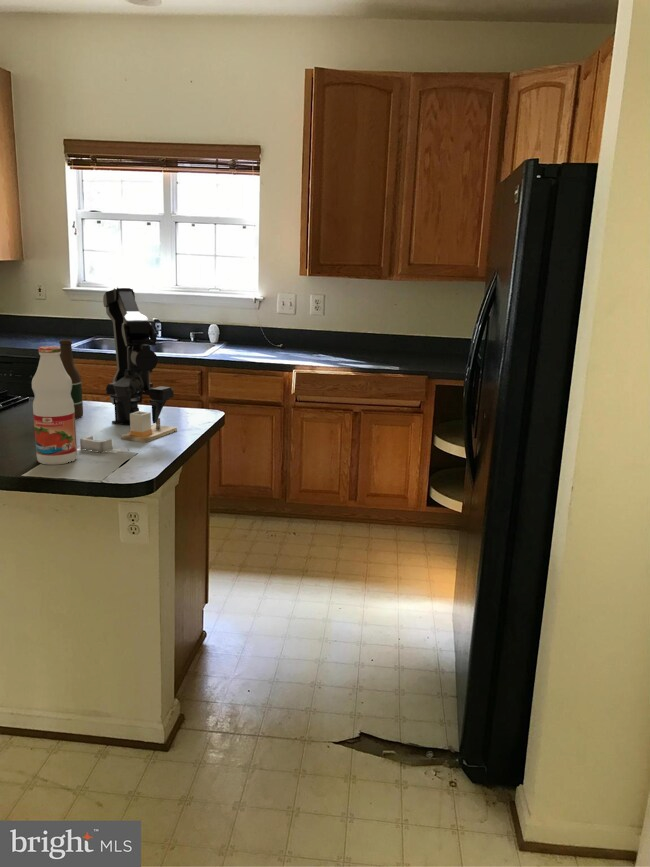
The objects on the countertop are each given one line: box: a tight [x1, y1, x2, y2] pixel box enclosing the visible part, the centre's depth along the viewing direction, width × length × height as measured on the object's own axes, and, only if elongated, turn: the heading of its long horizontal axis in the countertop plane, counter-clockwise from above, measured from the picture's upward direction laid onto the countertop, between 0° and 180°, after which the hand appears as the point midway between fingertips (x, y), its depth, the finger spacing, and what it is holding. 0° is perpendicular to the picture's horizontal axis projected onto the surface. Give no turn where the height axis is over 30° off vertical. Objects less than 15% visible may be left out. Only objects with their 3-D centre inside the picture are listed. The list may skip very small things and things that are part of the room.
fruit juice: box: [31, 345, 78, 466], centre depth 168 cm, size 9×9×28 cm
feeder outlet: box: [79, 435, 113, 453], centre depth 181 cm, size 7×4×3 cm, turn 68°
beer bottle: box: [58, 338, 84, 419], centre depth 213 cm, size 8×8×24 cm
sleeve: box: [129, 410, 152, 437], centre depth 193 cm, size 4×4×6 cm
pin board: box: [121, 417, 178, 443], centre depth 197 cm, size 8×15×4 cm, turn 158°
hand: (140, 421), depth 193 cm, fingers open, 9 cm apart
